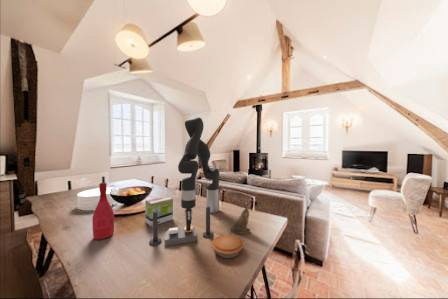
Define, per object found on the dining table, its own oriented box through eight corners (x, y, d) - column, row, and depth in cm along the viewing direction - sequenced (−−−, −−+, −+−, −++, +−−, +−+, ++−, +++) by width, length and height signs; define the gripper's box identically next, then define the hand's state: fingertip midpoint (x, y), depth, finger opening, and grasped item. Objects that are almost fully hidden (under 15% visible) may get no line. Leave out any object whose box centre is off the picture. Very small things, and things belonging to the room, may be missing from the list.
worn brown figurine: (250, 235, 99) (256, 206, 97) (247, 240, 94) (255, 210, 92) (231, 227, 103) (237, 200, 102) (228, 231, 98) (235, 202, 96)
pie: (249, 257, 76) (249, 247, 75) (215, 264, 71) (215, 253, 71) (236, 239, 90) (236, 230, 90) (208, 244, 86) (208, 234, 86)
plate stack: (92, 200, 155) (92, 187, 155) (124, 199, 158) (124, 187, 158) (67, 211, 127) (67, 197, 127) (106, 210, 130) (106, 195, 130)
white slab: (177, 229, 93) (177, 227, 93) (177, 233, 87) (177, 230, 87) (169, 230, 92) (169, 228, 92) (168, 234, 86) (168, 231, 86)
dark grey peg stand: (212, 231, 98) (212, 204, 98) (214, 237, 92) (214, 208, 92) (202, 233, 97) (202, 205, 96) (203, 238, 91) (203, 209, 90)
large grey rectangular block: (195, 232, 97) (194, 226, 97) (196, 241, 88) (196, 233, 88) (166, 236, 93) (166, 229, 93) (164, 245, 84) (164, 238, 84)
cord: (162, 238, 91) (161, 209, 91) (160, 244, 85) (160, 213, 85) (150, 239, 89) (149, 210, 89) (148, 246, 84) (147, 215, 83)
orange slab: (192, 227, 95) (191, 225, 95) (192, 231, 89) (192, 228, 89) (184, 228, 94) (184, 226, 94) (184, 232, 88) (184, 229, 88)
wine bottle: (90, 242, 87) (89, 185, 86) (95, 233, 96) (94, 182, 95) (113, 237, 91) (112, 183, 91) (115, 229, 100) (114, 180, 99)
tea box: (151, 227, 103) (151, 203, 103) (144, 222, 110) (144, 200, 110) (173, 219, 114) (173, 198, 114) (166, 215, 121) (165, 195, 121)
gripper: (196, 201, 83) (196, 235, 83) (194, 193, 96) (194, 223, 96) (181, 202, 81) (181, 237, 81) (181, 194, 94) (181, 225, 94)
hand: (188, 230), depth 89 cm, fingers closed
